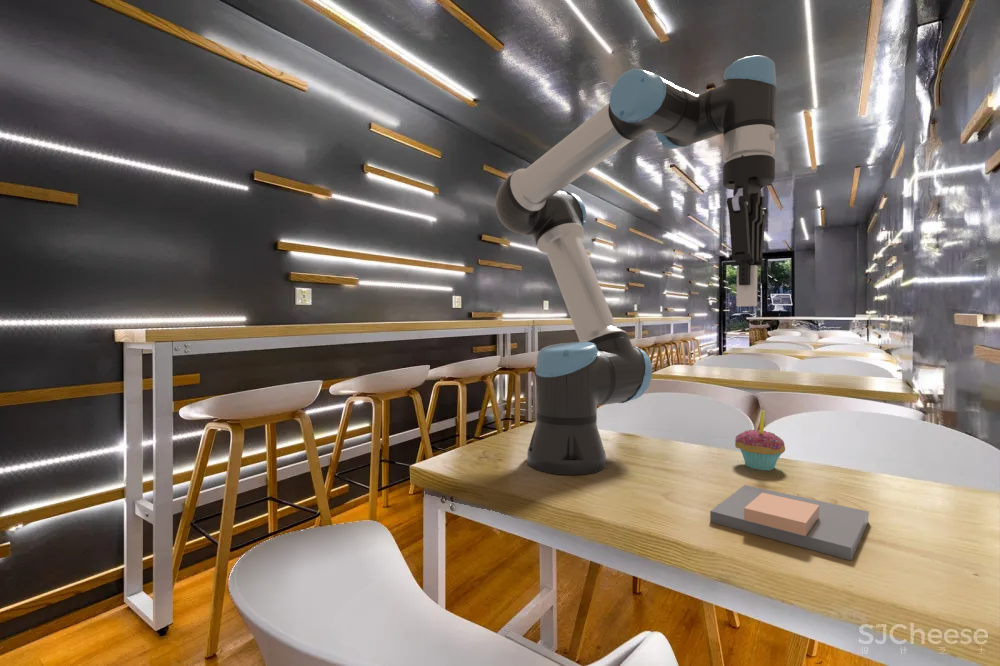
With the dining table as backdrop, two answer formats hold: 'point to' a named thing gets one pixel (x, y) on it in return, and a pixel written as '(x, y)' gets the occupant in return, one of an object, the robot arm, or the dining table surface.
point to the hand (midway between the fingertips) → (746, 306)
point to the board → (828, 535)
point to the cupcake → (760, 447)
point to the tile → (782, 513)
